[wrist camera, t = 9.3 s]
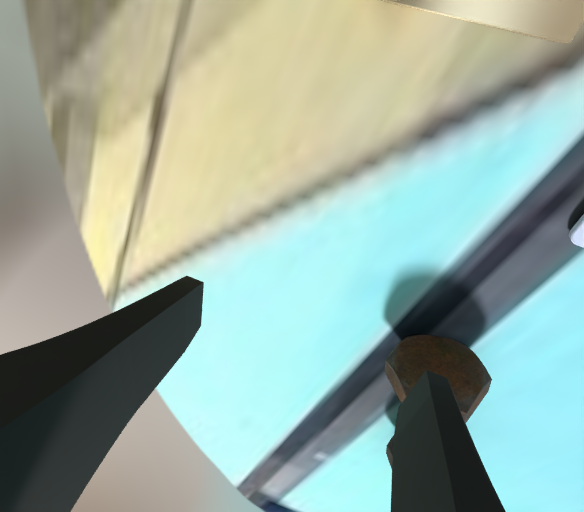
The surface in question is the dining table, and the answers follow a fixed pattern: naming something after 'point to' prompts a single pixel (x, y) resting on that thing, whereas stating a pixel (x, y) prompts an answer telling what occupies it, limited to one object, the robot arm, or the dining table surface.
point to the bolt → (437, 371)
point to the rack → (512, 15)
